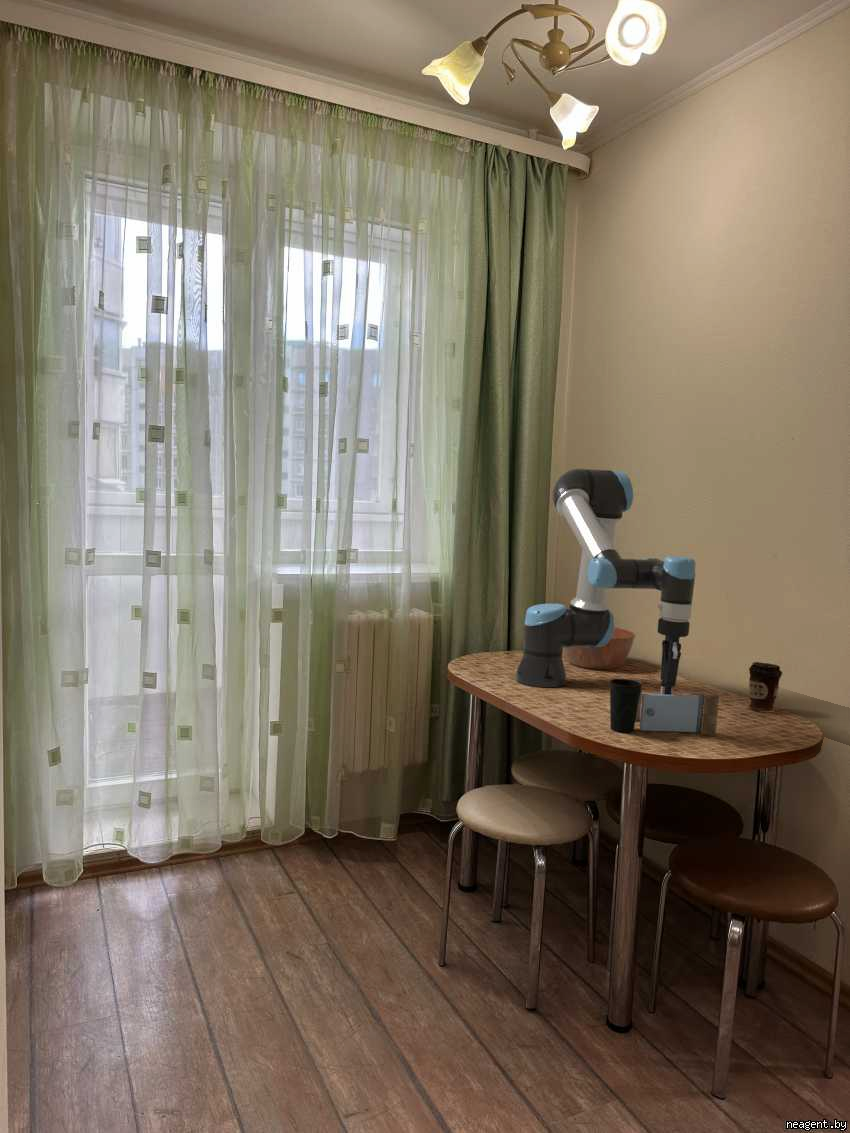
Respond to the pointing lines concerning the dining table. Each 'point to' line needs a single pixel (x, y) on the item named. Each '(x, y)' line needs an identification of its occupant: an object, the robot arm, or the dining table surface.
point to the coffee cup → (763, 686)
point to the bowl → (603, 652)
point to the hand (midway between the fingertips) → (664, 710)
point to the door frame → (708, 713)
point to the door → (672, 712)
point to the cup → (624, 704)
